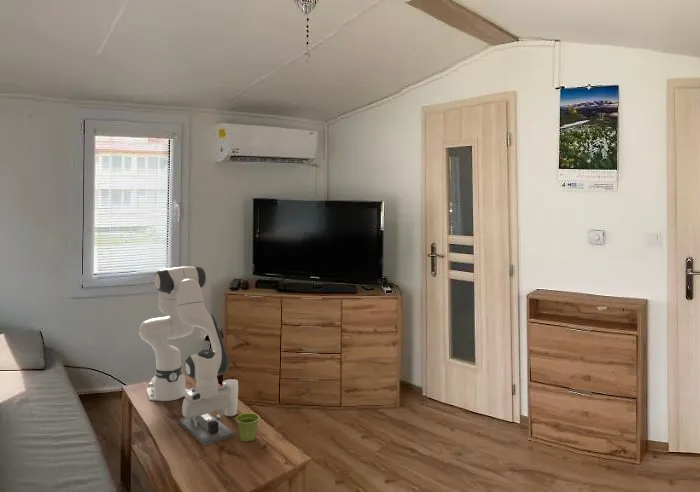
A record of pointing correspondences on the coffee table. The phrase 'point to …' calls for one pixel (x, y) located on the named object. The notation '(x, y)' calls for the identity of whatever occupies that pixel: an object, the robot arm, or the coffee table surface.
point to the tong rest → (203, 434)
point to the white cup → (232, 396)
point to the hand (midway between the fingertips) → (207, 422)
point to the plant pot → (247, 426)
